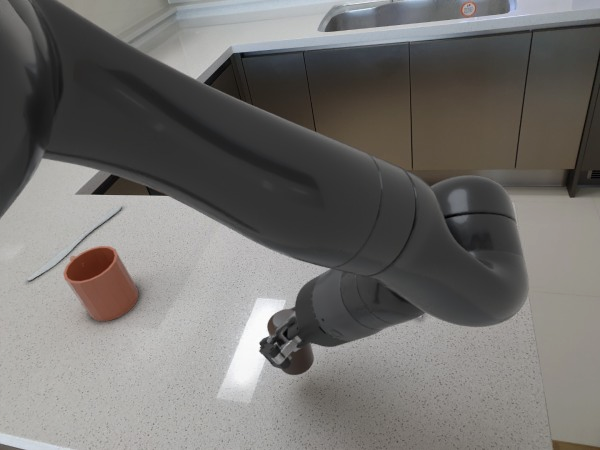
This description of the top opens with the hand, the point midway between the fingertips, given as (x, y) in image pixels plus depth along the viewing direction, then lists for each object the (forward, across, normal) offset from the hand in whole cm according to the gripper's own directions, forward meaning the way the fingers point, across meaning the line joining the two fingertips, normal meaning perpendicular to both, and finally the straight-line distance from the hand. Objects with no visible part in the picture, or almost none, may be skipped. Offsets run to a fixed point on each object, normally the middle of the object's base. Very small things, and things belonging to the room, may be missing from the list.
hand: (278, 332), depth 60 cm
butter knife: (+54, -4, -38) cm, 67 cm away
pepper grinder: (+2, 0, +5) cm, 5 cm away
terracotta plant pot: (+38, +4, -22) cm, 44 cm away
